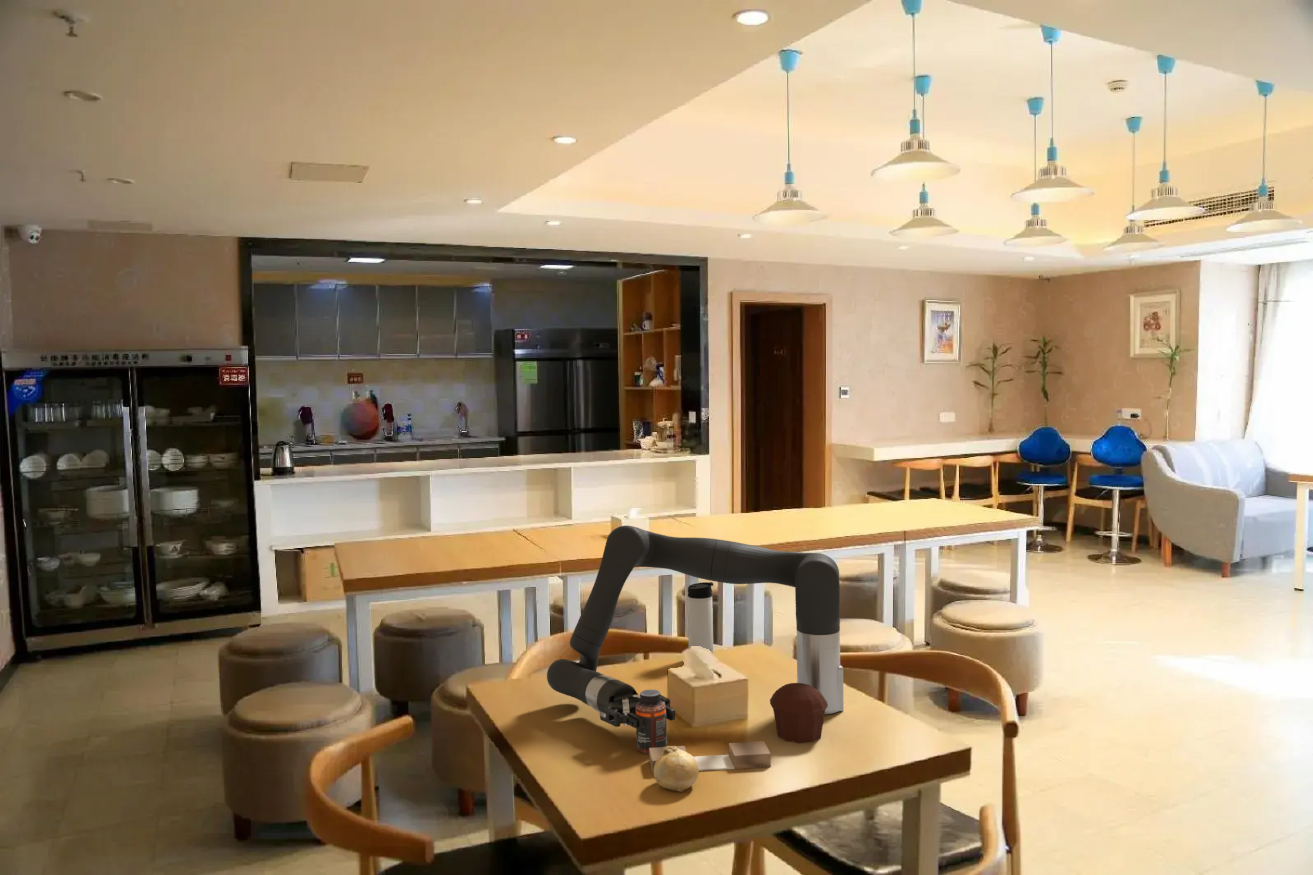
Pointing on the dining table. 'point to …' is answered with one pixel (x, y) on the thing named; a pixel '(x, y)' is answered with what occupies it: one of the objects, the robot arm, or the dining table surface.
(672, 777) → the onion
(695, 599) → the travel mug
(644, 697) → the supplement bottle
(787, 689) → the muffin
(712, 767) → the rail
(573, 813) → the dining table surface
